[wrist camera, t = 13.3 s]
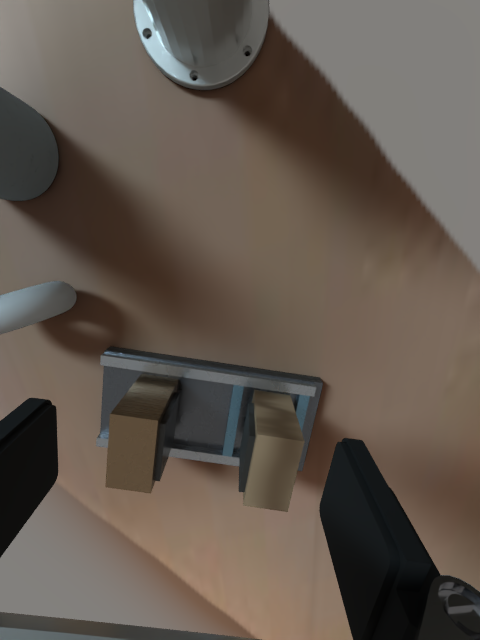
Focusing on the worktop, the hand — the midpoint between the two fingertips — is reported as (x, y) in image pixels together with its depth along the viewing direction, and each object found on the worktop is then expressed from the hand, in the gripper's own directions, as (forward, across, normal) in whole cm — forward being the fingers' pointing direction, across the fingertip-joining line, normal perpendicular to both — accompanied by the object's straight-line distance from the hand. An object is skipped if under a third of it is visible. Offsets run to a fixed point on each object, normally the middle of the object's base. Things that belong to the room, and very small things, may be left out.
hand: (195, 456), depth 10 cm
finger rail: (+26, 0, +15) cm, 30 cm away
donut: (+27, +20, +4) cm, 34 cm away
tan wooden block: (+25, -7, +15) cm, 30 cm away
